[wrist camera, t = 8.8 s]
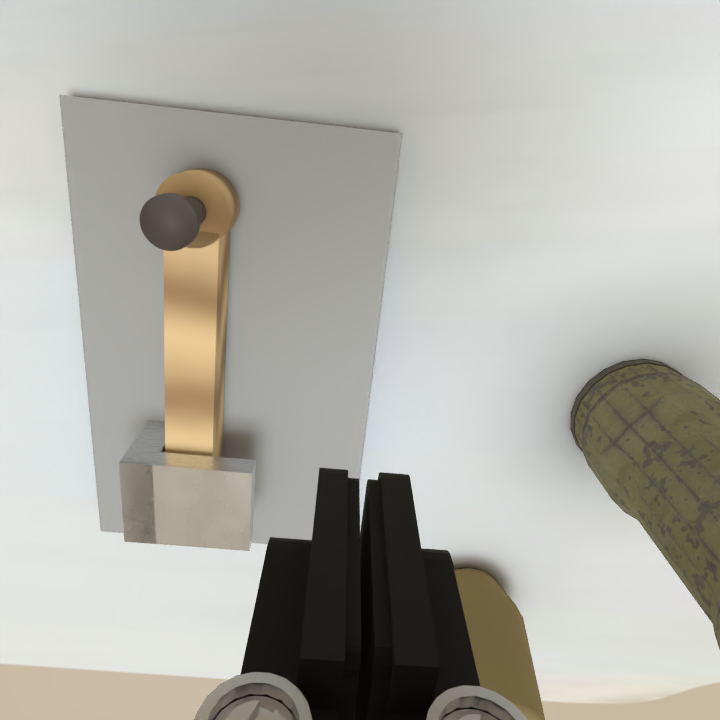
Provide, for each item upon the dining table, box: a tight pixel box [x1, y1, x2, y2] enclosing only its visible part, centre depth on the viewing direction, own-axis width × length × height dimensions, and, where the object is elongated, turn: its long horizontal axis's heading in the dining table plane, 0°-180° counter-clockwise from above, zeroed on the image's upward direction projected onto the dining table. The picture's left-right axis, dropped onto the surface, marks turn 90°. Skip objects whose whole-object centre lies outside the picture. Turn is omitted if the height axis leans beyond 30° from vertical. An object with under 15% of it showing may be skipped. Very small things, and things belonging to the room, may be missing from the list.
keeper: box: [119, 420, 256, 551], centre depth 37 cm, size 6×8×5 cm
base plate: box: [60, 95, 402, 544], centre depth 37 cm, size 30×19×2 cm, turn 174°
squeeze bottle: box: [454, 568, 545, 720], centre depth 38 cm, size 8×8×18 cm
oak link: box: [140, 168, 240, 457], centre depth 33 cm, size 23×4×7 cm, turn 173°
